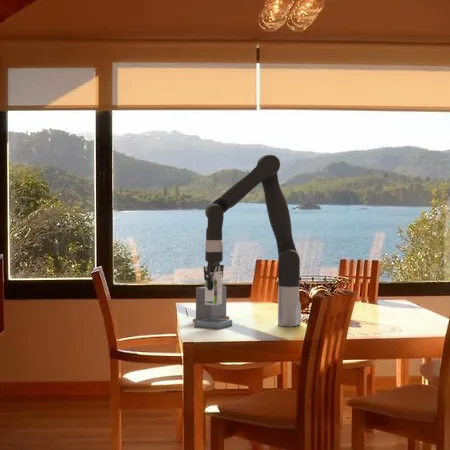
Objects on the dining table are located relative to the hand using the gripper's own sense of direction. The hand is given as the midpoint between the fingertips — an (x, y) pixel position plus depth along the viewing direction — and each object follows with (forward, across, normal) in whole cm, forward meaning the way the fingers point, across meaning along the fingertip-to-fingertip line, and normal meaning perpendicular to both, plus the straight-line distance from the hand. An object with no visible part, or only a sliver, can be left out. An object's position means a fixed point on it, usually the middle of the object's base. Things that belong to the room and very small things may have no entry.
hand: (213, 289), depth 357 cm
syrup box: (+7, 0, 0) cm, 7 cm away
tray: (+16, 0, 0) cm, 16 cm away
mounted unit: (+16, -16, -10) cm, 25 cm away
